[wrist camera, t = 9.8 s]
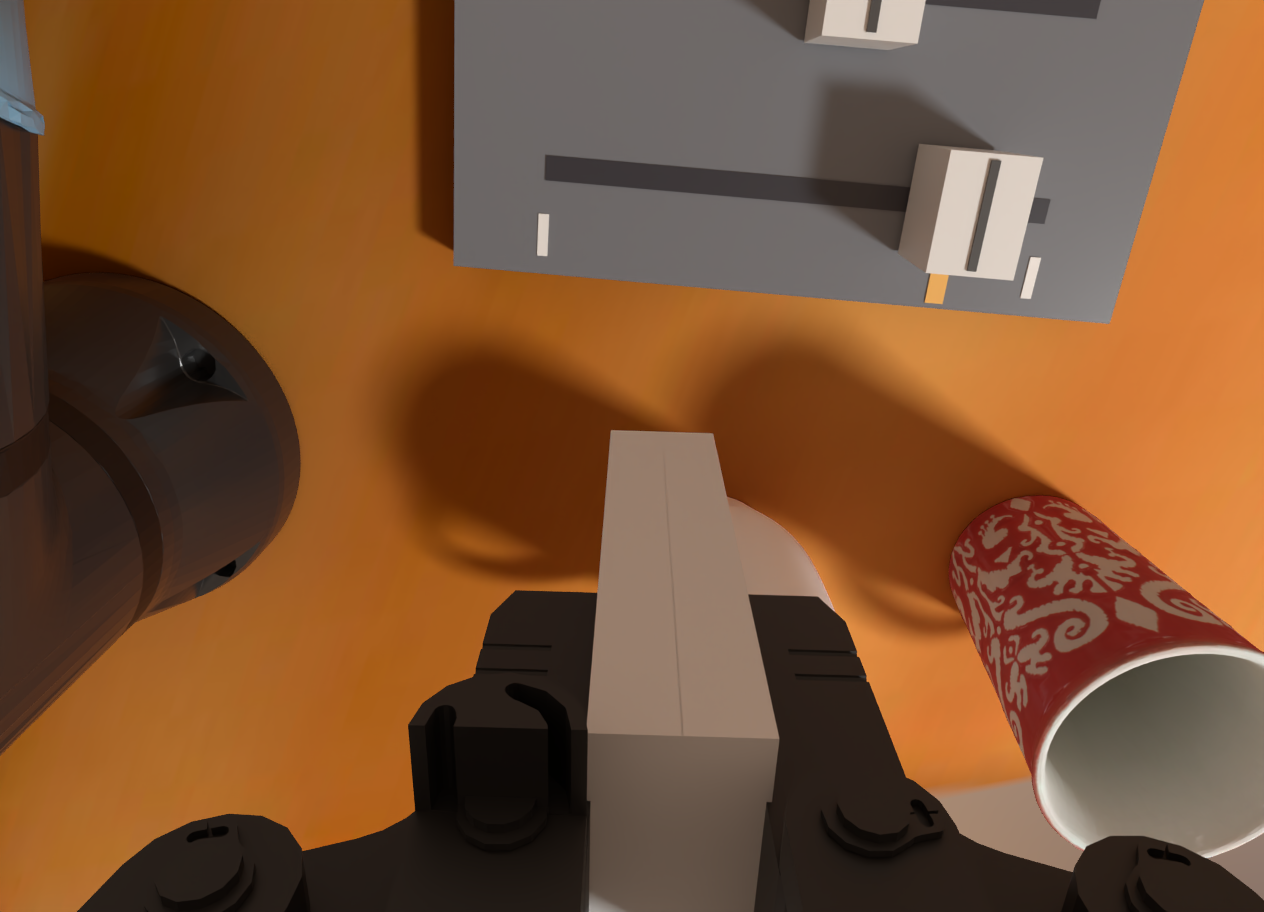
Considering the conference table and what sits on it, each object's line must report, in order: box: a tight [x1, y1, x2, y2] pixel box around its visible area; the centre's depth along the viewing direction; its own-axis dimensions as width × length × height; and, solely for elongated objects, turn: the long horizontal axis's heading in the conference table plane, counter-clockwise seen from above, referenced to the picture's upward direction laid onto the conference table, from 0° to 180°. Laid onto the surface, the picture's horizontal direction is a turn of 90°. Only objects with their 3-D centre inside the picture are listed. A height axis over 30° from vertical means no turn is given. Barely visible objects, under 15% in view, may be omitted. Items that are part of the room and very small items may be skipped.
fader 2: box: [898, 144, 1043, 281], centre depth 31 cm, size 3×4×4 cm
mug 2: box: [949, 495, 1264, 858], centre depth 35 cm, size 13×9×14 cm
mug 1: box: [727, 497, 835, 612], centre depth 36 cm, size 12×9×12 cm
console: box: [454, 0, 1204, 324], centre depth 33 cm, size 26×15×2 cm, turn 85°
